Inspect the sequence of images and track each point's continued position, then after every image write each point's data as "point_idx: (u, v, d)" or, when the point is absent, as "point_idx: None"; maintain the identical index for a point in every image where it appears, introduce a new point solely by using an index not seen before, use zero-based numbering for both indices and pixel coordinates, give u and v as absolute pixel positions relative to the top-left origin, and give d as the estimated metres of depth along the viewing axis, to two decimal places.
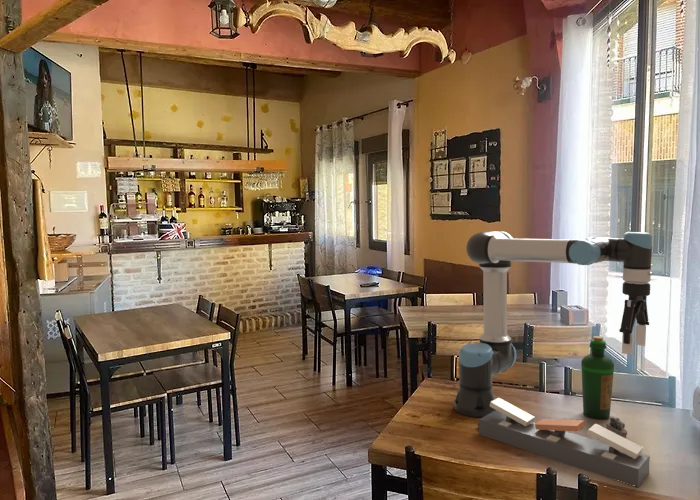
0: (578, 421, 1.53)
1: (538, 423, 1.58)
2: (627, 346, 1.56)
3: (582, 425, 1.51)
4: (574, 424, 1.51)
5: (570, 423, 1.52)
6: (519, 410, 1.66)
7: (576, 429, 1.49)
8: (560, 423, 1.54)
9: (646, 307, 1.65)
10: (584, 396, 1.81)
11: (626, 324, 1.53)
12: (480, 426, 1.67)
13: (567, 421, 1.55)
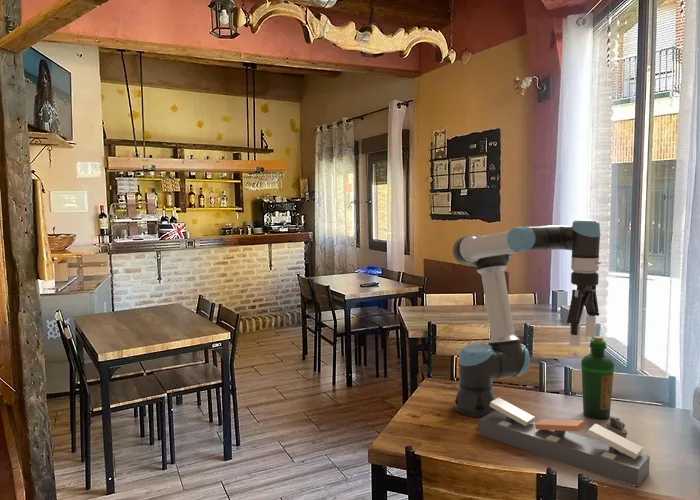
0: (578, 421, 1.53)
1: (538, 423, 1.58)
2: (575, 337, 1.51)
3: (582, 425, 1.51)
4: (574, 424, 1.51)
5: (570, 423, 1.52)
6: (519, 410, 1.66)
7: (576, 429, 1.49)
8: (560, 423, 1.54)
9: (596, 297, 1.60)
10: (584, 396, 1.81)
11: (573, 315, 1.49)
12: (480, 426, 1.67)
13: (567, 421, 1.55)
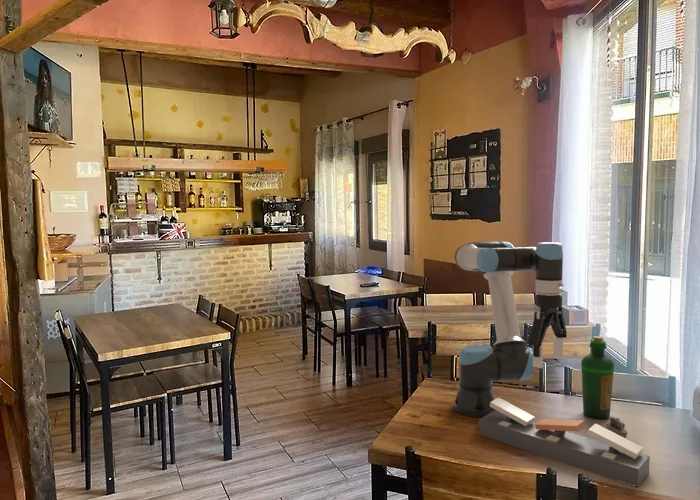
0: (578, 421, 1.53)
1: (538, 423, 1.58)
2: (537, 359, 1.52)
3: (582, 425, 1.51)
4: (574, 424, 1.51)
5: (570, 423, 1.52)
6: (519, 410, 1.66)
7: (576, 429, 1.49)
8: (560, 423, 1.54)
9: (563, 319, 1.61)
10: (584, 396, 1.81)
11: (534, 337, 1.50)
12: (480, 426, 1.67)
13: (567, 421, 1.55)
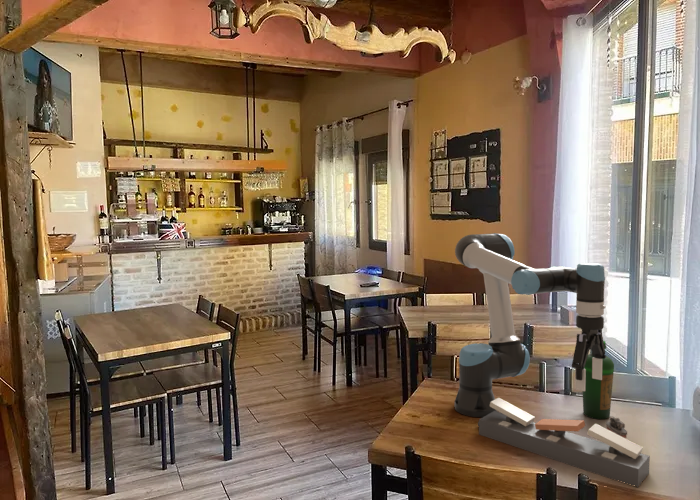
0: (578, 421, 1.53)
1: (538, 423, 1.58)
2: (580, 382, 1.50)
3: (582, 425, 1.51)
4: (574, 424, 1.51)
5: (570, 423, 1.52)
6: (519, 410, 1.66)
7: (576, 429, 1.49)
8: (560, 423, 1.54)
9: (602, 340, 1.59)
10: (584, 396, 1.81)
11: (578, 360, 1.48)
12: (480, 426, 1.67)
13: (567, 421, 1.55)
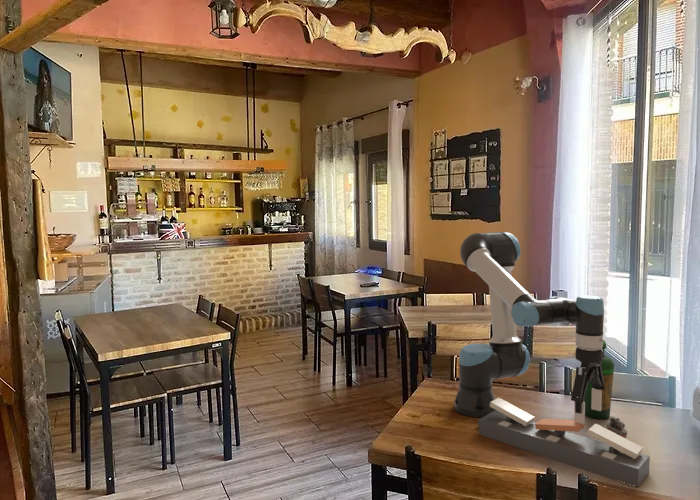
0: None
1: (538, 423, 1.58)
2: (579, 415, 1.51)
3: (582, 425, 1.51)
4: (575, 424, 1.51)
5: (570, 423, 1.52)
6: (519, 410, 1.66)
7: (576, 429, 1.49)
8: (560, 423, 1.54)
9: (601, 371, 1.60)
10: None
11: (577, 393, 1.49)
12: (480, 426, 1.67)
13: (567, 421, 1.55)
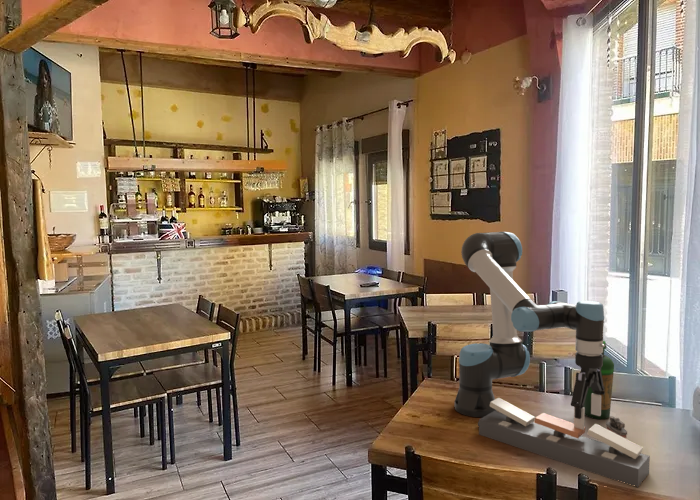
0: None
1: (538, 417, 1.58)
2: (579, 420, 1.51)
3: (582, 432, 1.51)
4: (576, 430, 1.50)
5: (571, 428, 1.52)
6: (519, 410, 1.66)
7: (576, 436, 1.49)
8: (561, 424, 1.54)
9: (601, 376, 1.60)
10: None
11: (577, 399, 1.49)
12: (480, 426, 1.67)
13: (568, 423, 1.55)
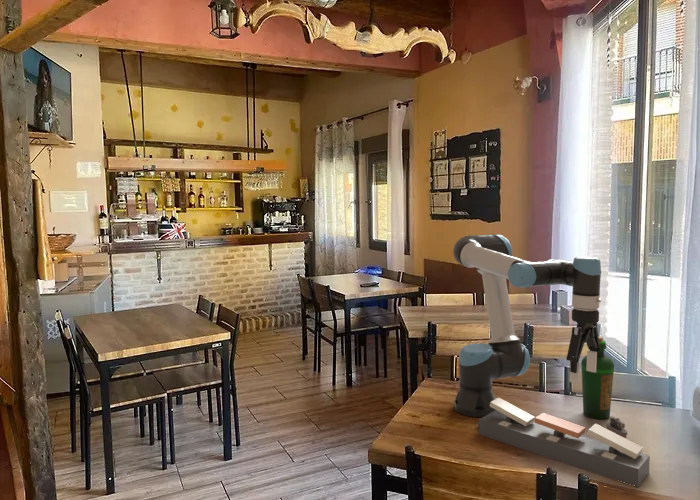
0: (579, 427, 1.52)
1: (538, 417, 1.58)
2: (574, 374, 1.51)
3: (582, 432, 1.51)
4: (576, 430, 1.50)
5: (571, 428, 1.52)
6: (519, 410, 1.66)
7: (576, 436, 1.49)
8: (561, 424, 1.54)
9: (597, 333, 1.60)
10: (584, 396, 1.81)
11: (572, 353, 1.49)
12: (480, 426, 1.67)
13: (568, 423, 1.55)
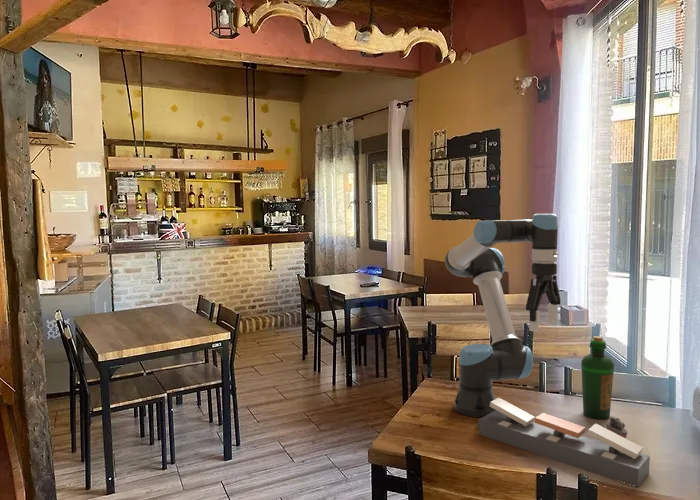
0: (579, 427, 1.52)
1: (538, 417, 1.58)
2: (534, 323, 1.61)
3: (582, 432, 1.51)
4: (576, 430, 1.50)
5: (571, 428, 1.52)
6: (519, 410, 1.66)
7: (576, 436, 1.49)
8: (561, 424, 1.54)
9: (557, 287, 1.70)
10: (584, 396, 1.81)
11: (531, 302, 1.59)
12: (480, 426, 1.67)
13: (568, 423, 1.55)
